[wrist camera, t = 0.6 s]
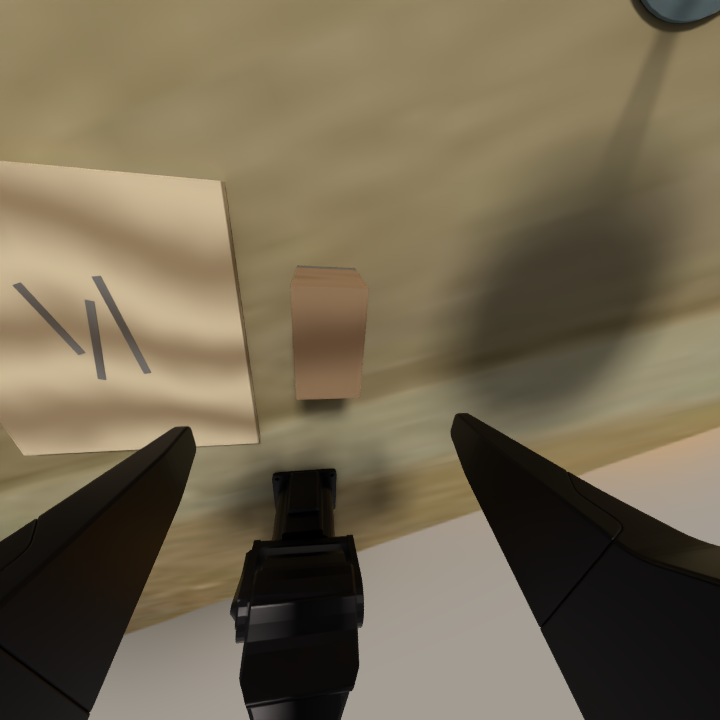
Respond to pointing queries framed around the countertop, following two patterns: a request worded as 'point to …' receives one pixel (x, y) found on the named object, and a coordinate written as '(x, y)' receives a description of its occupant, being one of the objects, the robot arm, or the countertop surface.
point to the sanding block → (328, 331)
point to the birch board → (119, 311)
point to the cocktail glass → (682, 9)
